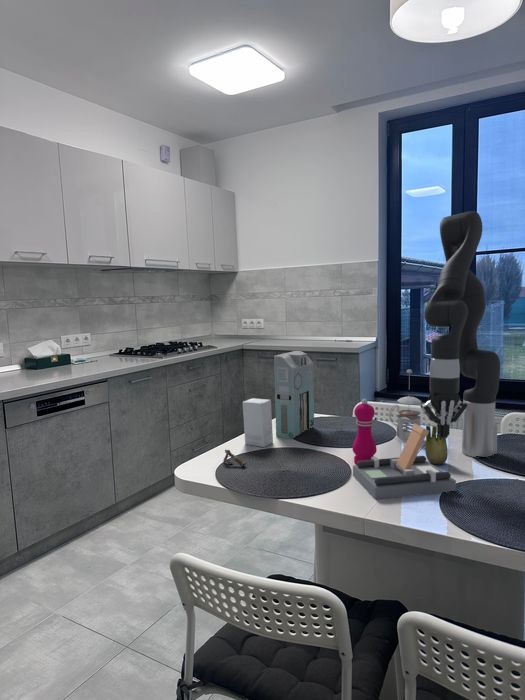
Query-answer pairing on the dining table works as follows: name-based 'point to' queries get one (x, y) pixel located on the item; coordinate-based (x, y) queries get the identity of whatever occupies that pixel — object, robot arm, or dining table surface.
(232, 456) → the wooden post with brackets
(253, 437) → the skincare box
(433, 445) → the fennel bulb
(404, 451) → the lever
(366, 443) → the pepper mill
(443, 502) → the dining table surface
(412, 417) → the french press
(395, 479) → the pair of dark bars
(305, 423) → the device
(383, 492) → the panel
